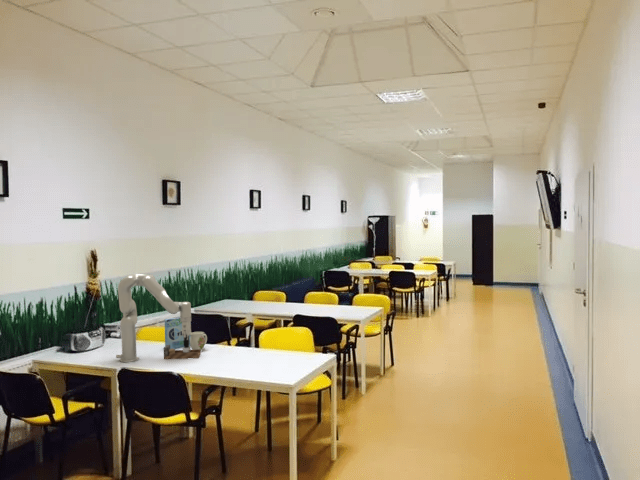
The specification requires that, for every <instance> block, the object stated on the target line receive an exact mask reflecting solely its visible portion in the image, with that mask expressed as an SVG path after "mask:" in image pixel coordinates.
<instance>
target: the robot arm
mask: <svg viewBox="0 0 640 480" xmlns="http://www.w3.org/2000/svg"><path fill="white" fill-rule="evenodd" d="M137 286H138V287H144V288H145V289H146V290H147V291H148V292H149V293H150V294H151V295H152V296H153V297H154V298H155V299H156V300H157V302H158V303H159V304H160V305H161V306H162V308H163V309H164V310H166V311H167V312H168V313H169V314H171V315H176V314H178V313H179V317H180V322H182V336H184V346H188V336H189V335H190V334H191V333H192V323H190V322H192V307H191V306H192V304H191V302H189V301H174V300H172V299H171V297H170V296H169V295H168V293H167V290H166V289H165V287H163V286H162V285H161V284H160V283H159V282H158V281H157V280H156V277H155V276H154V275H152V274H145V273H144V274H143V273H141V274H140V273H131V274H128V275H127V276H125V277H123V278H122V279H121V280H120V281H119V283H118V286H117V294H118V305H119V311H120V312H121V313H122V316H123V317H122V318H121V320H120V325H119V326H120V336H121V339H120V340H121V353H120V354H116V355H115V358H116V359H119V362H121V363H133V362H137V361H138V360H140V358H139V356H137V334H136V333H137V332H136V324H137V323H138V312H137V311H138V310H137V304H136V302H135V300H134V299H133V298H132V290H131V289H132V288H133V287H137ZM186 335H187V336H186Z"/></svg>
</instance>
